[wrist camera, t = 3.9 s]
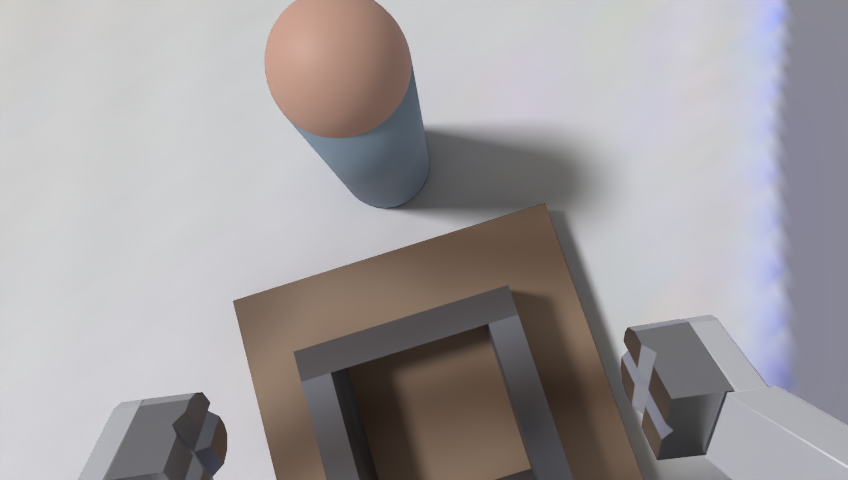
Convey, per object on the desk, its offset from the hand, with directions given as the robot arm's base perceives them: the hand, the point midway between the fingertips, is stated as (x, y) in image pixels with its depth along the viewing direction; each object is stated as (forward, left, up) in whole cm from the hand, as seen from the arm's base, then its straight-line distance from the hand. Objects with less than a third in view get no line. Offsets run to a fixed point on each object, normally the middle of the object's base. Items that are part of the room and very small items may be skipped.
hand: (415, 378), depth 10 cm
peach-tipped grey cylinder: (+9, 0, -14) cm, 17 cm away
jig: (-3, +1, -14) cm, 15 cm away
